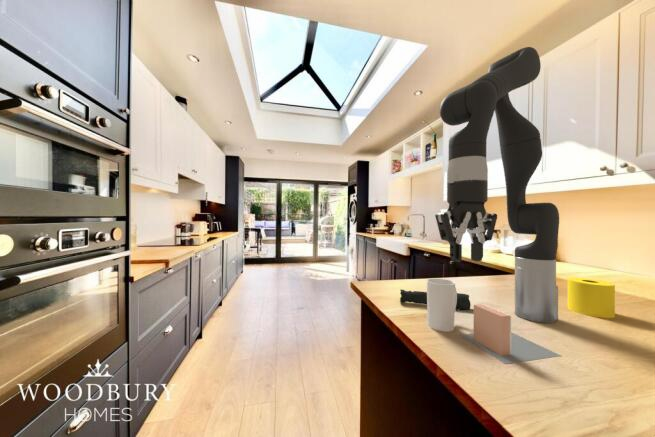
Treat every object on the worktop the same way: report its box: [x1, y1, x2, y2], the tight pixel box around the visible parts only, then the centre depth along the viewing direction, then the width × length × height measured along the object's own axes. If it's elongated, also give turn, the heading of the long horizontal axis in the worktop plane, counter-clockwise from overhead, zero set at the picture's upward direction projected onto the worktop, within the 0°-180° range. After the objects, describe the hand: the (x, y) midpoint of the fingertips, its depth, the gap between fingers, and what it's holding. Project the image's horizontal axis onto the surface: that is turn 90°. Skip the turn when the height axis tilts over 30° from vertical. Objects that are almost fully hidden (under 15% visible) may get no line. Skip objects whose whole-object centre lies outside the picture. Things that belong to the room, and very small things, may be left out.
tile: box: [473, 303, 512, 356], centre depth 53 cm, size 2×7×8 cm, turn 13°
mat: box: [458, 331, 562, 365], centre depth 54 cm, size 14×12×1 cm
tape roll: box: [567, 277, 616, 319], centre depth 76 cm, size 10×10×9 cm
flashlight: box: [399, 289, 471, 311], centre depth 80 cm, size 5×21×5 cm, turn 73°
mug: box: [426, 277, 458, 333], centre depth 64 cm, size 10×7×12 cm, turn 119°
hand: (466, 260), depth 52 cm, fingers open, 4 cm apart
